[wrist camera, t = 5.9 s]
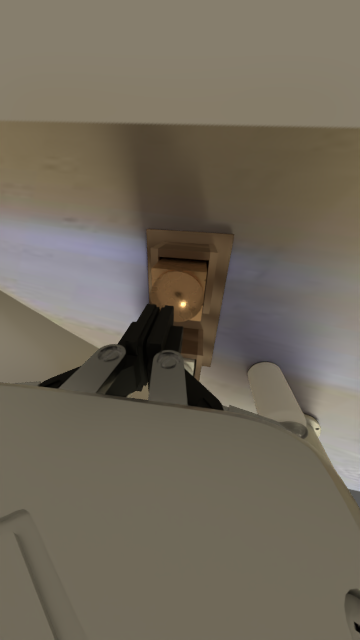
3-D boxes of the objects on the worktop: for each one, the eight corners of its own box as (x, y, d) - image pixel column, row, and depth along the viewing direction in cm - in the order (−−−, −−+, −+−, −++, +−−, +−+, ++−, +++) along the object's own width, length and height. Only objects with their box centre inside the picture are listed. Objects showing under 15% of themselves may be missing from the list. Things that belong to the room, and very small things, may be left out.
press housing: (209, 362, 37) (211, 396, 29) (153, 355, 37) (141, 387, 30) (232, 234, 25) (244, 239, 18) (148, 228, 26) (127, 232, 18)
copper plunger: (201, 295, 24) (200, 324, 18) (165, 292, 25) (151, 319, 18) (205, 257, 22) (206, 274, 15) (165, 254, 22) (149, 269, 15)
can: (280, 382, 37) (310, 445, 27) (248, 385, 38) (264, 446, 28) (280, 358, 34) (313, 419, 24) (245, 362, 36) (262, 421, 25)
